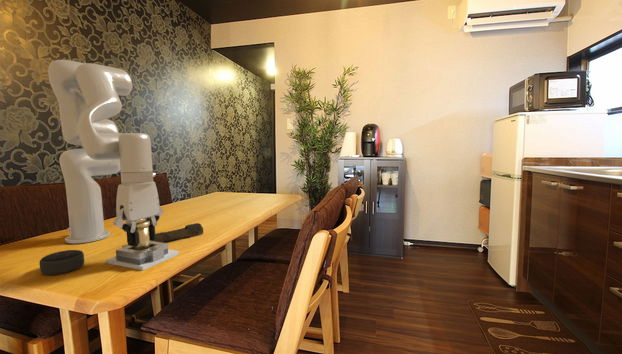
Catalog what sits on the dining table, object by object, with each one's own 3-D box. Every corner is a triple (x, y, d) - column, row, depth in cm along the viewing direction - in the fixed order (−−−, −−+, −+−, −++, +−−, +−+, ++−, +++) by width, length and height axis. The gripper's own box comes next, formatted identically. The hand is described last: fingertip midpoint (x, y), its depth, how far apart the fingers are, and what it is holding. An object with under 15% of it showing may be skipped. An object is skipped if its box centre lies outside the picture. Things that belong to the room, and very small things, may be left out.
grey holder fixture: (107, 259, 80) (107, 248, 80) (137, 248, 88) (136, 238, 88) (144, 265, 75) (143, 254, 75) (172, 254, 83) (171, 243, 83)
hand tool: (147, 248, 92) (146, 234, 91) (144, 245, 95) (143, 231, 94) (206, 236, 104) (205, 223, 104) (201, 233, 107) (201, 221, 107)
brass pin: (129, 258, 80) (125, 223, 79) (144, 252, 84) (141, 219, 83) (141, 261, 78) (138, 225, 77) (156, 254, 83) (153, 220, 81)
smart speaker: (70, 261, 82) (69, 247, 81) (92, 264, 79) (91, 250, 79) (32, 274, 73) (30, 259, 73) (55, 278, 71) (54, 263, 70)
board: (106, 263, 79) (106, 259, 79) (145, 248, 91) (144, 245, 91) (142, 270, 74) (142, 266, 74) (179, 254, 86) (178, 251, 85)
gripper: (154, 175, 88) (158, 232, 90) (95, 181, 72) (102, 251, 74) (172, 175, 85) (176, 235, 87) (116, 182, 70) (122, 254, 72)
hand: (142, 241), depth 81 cm, fingers open, 4 cm apart
